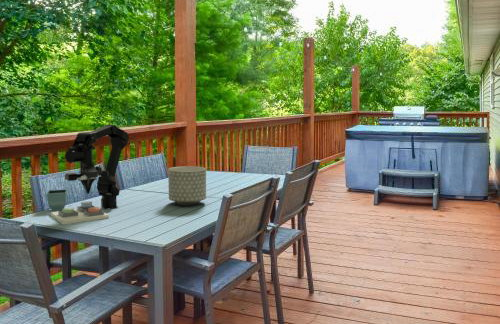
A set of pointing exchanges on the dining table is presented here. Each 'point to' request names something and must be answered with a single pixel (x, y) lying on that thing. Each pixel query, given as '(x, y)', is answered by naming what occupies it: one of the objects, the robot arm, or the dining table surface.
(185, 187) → the planter
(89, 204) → the slate button
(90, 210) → the brick button
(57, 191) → the flower pot
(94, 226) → the dining table surface
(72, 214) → the button panel
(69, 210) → the sage button
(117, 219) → the dining table surface
